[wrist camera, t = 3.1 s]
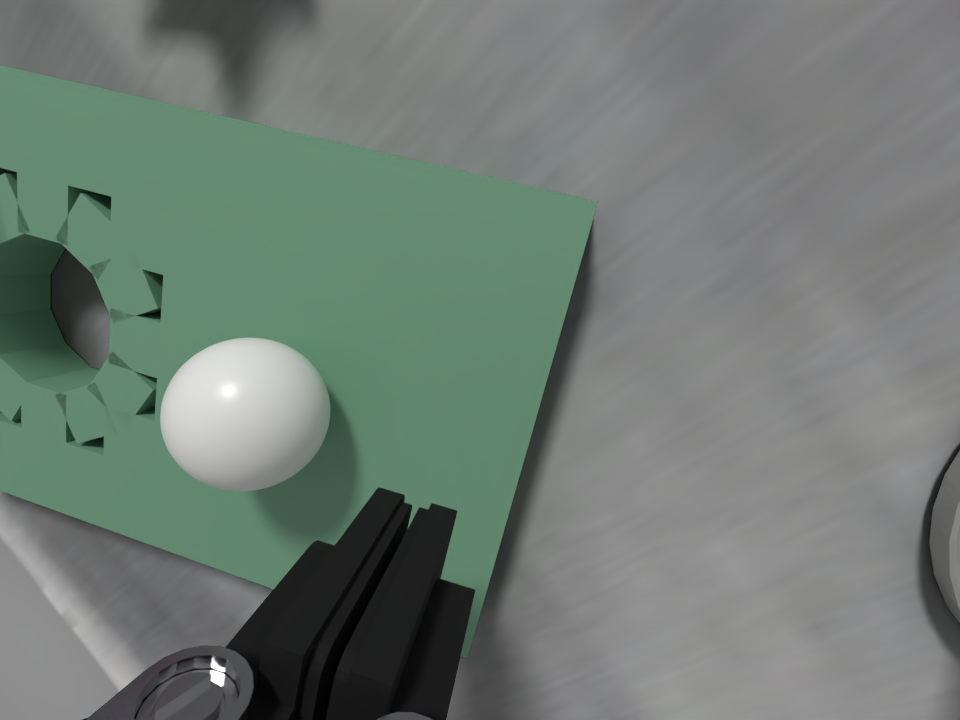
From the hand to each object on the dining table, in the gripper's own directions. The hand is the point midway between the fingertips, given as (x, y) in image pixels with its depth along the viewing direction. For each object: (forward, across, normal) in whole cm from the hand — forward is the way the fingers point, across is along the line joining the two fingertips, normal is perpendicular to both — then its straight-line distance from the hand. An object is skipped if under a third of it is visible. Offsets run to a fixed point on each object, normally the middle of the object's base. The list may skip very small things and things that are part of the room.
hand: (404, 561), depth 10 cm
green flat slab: (+9, +10, 0) cm, 13 cm away
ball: (+4, +6, 0) cm, 7 cm away
